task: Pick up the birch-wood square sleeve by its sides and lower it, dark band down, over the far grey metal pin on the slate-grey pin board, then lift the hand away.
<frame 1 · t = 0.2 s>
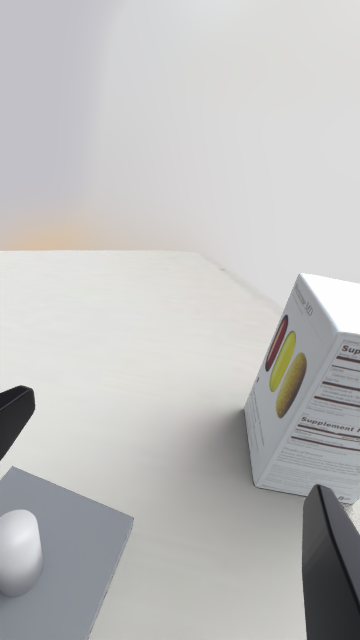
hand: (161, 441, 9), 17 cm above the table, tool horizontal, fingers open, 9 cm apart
supplement box: (291, 452, 30), on the table
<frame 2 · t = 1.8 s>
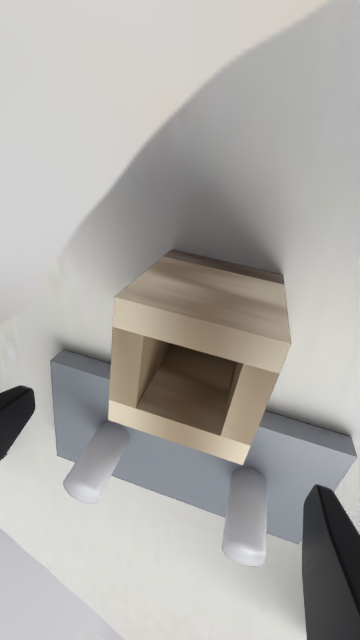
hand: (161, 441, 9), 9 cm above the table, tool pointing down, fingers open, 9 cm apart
pin board: (184, 439, 23), on the table
sleeve: (214, 311, 17), on the table
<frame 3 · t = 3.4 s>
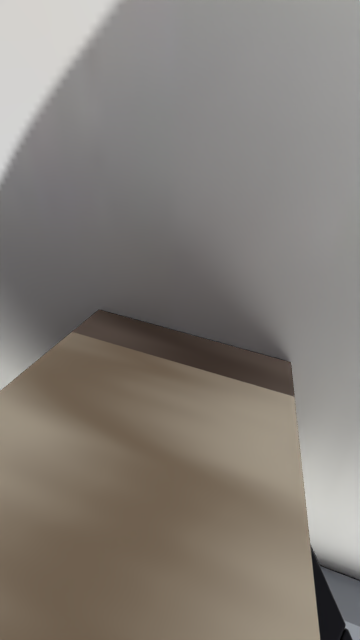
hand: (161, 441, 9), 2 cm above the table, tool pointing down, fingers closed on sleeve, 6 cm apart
pin board: (145, 558, 16), on the table
sleeve: (175, 406, 10), on the table, touching gripper
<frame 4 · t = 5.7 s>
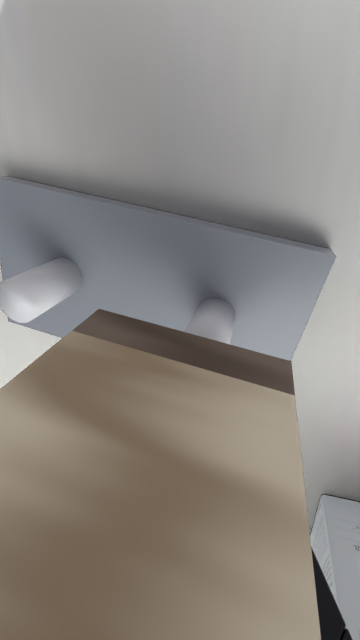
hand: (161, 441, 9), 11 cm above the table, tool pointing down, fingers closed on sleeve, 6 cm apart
pin board: (146, 287, 20), on the table
sleeve: (175, 405, 10), point 10 cm above the table, touching gripper
when the fingers open (4 cm above the table, at t = 8.2 s): sleeve drops 1 cm, resting on pin board.
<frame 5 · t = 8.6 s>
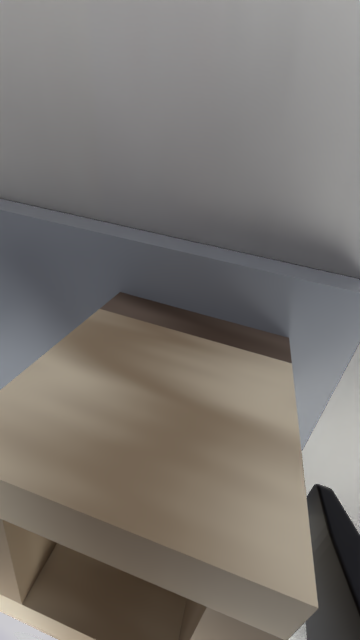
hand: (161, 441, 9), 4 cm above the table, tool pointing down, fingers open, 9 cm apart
pin board: (90, 330, 14), on the table
sleeve: (185, 380, 12), point 1 cm above the table, touching pin board
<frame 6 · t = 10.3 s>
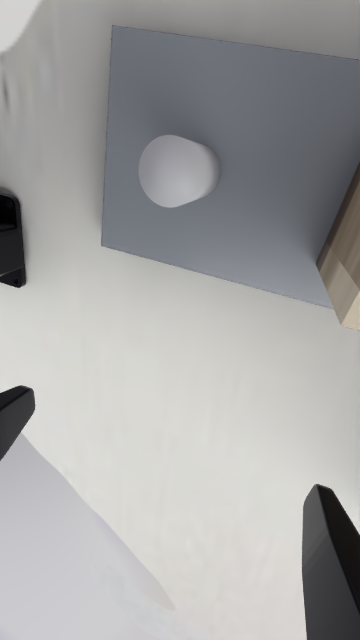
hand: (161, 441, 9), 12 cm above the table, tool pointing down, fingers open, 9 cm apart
pin board: (296, 192, 15), on the table
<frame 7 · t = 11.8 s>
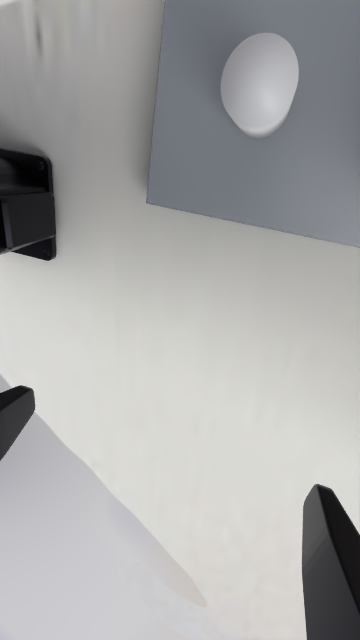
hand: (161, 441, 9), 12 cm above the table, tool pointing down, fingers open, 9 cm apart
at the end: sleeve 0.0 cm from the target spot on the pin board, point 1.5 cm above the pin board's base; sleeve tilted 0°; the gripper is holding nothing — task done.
